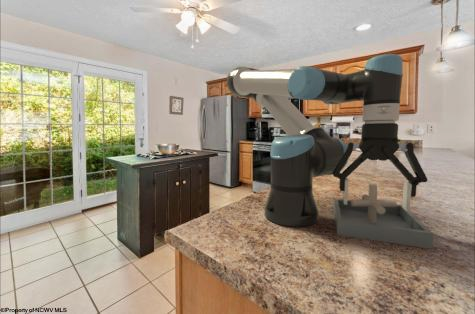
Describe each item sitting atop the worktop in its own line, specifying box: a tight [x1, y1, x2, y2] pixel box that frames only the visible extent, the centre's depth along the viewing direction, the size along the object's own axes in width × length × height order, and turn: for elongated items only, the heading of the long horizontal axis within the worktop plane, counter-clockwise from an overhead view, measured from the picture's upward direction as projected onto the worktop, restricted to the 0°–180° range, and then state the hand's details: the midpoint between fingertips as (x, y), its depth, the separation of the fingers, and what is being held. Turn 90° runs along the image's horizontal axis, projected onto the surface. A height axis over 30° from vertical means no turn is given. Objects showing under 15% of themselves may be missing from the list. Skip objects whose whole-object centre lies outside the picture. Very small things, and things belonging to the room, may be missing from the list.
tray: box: [333, 198, 434, 250], centre depth 56 cm, size 18×18×3 cm
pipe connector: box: [350, 183, 397, 223], centre depth 56 cm, size 10×10×10 cm
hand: (374, 205), depth 56 cm, fingers open, 13 cm apart
